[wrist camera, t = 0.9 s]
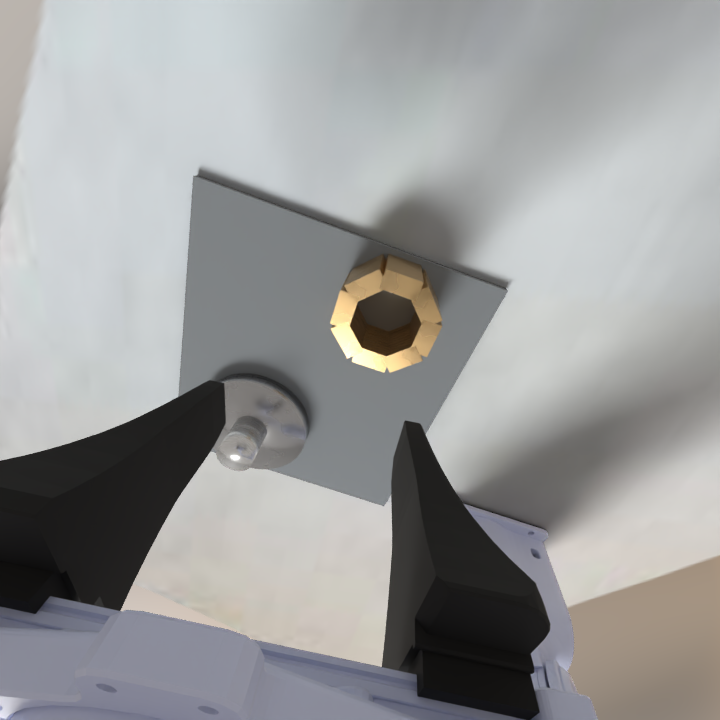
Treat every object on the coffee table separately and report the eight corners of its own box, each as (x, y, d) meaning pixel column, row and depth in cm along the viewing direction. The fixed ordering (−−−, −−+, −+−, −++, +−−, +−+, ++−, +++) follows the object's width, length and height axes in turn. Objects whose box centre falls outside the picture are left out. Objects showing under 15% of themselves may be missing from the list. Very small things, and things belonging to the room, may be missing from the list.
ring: (450, 276, 19) (457, 294, 17) (412, 355, 22) (414, 382, 19) (358, 242, 19) (351, 256, 16) (332, 327, 22) (321, 351, 19)
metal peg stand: (321, 395, 24) (307, 433, 21) (295, 469, 28) (280, 512, 25) (210, 358, 24) (177, 391, 20) (200, 439, 28) (171, 478, 24)
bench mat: (505, 288, 20) (507, 291, 19) (384, 502, 30) (383, 506, 29) (197, 175, 19) (193, 175, 18) (178, 436, 29) (175, 440, 28)
